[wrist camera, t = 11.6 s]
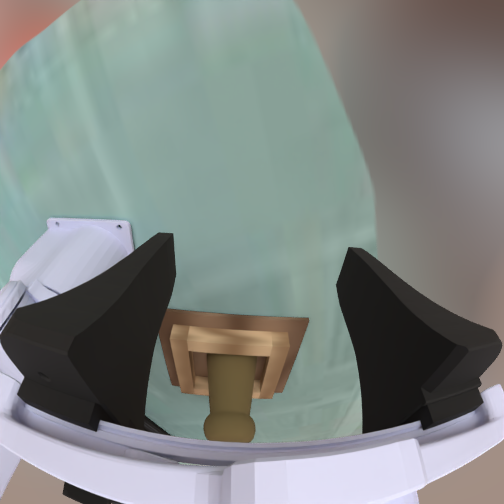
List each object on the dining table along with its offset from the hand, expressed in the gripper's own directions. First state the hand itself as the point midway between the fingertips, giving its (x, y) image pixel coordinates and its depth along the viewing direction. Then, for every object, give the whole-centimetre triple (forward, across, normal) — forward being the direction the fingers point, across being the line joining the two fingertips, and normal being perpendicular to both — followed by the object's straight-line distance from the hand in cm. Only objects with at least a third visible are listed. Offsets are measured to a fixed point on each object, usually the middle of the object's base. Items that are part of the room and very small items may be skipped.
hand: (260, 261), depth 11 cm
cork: (+10, +1, +21) cm, 24 cm away
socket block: (+10, +1, +22) cm, 24 cm away
